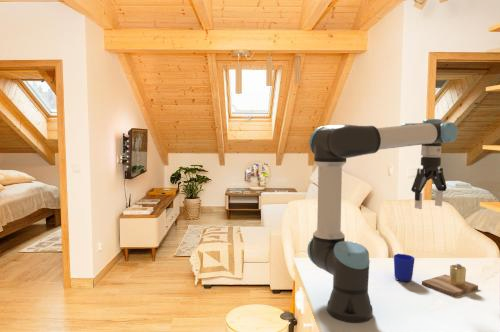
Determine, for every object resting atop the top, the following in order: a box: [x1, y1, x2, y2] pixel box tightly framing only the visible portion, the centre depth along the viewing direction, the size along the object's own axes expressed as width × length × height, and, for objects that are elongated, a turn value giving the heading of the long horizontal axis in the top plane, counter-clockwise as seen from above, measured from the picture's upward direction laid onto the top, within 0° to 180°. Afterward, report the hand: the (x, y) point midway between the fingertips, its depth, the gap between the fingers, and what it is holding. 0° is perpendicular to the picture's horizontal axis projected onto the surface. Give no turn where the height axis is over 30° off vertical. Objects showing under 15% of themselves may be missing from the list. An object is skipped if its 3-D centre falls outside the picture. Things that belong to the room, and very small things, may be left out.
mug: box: [393, 253, 416, 283], centre depth 164 cm, size 8×12×10 cm
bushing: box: [449, 264, 467, 287], centre depth 154 cm, size 5×5×7 cm
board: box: [421, 274, 479, 298], centre depth 155 cm, size 16×14×2 cm
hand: (428, 207), depth 159 cm, fingers open, 13 cm apart
